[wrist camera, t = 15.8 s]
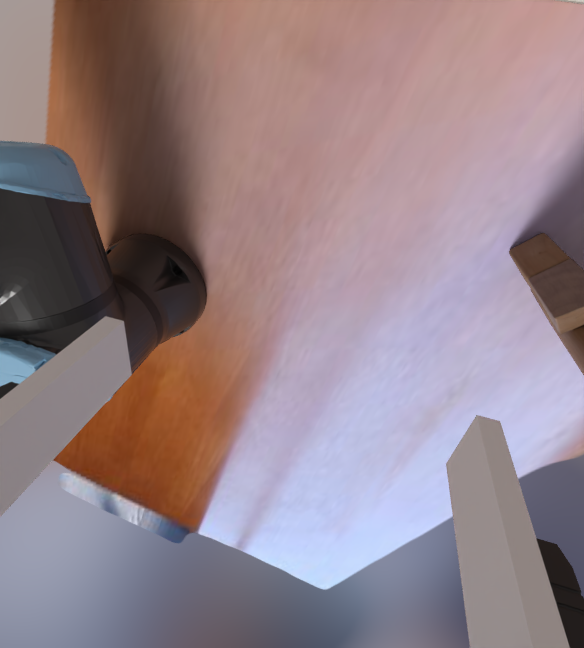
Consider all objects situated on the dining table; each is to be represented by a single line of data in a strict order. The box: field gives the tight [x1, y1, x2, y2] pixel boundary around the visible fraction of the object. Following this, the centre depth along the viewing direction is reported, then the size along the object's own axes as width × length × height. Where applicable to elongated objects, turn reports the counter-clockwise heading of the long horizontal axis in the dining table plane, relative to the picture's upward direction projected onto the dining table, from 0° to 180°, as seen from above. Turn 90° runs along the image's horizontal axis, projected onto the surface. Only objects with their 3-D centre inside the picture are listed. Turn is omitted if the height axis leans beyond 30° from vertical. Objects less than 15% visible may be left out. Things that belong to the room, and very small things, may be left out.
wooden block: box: [509, 233, 584, 375], centre depth 32 cm, size 4×11×18 cm, turn 40°
